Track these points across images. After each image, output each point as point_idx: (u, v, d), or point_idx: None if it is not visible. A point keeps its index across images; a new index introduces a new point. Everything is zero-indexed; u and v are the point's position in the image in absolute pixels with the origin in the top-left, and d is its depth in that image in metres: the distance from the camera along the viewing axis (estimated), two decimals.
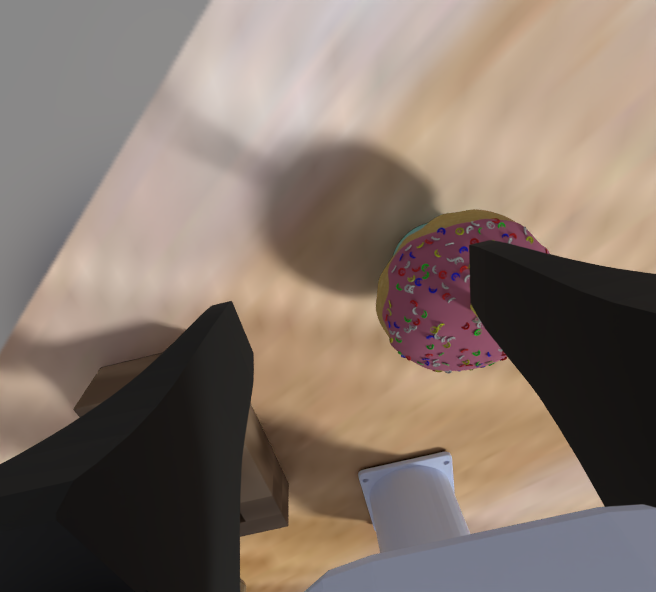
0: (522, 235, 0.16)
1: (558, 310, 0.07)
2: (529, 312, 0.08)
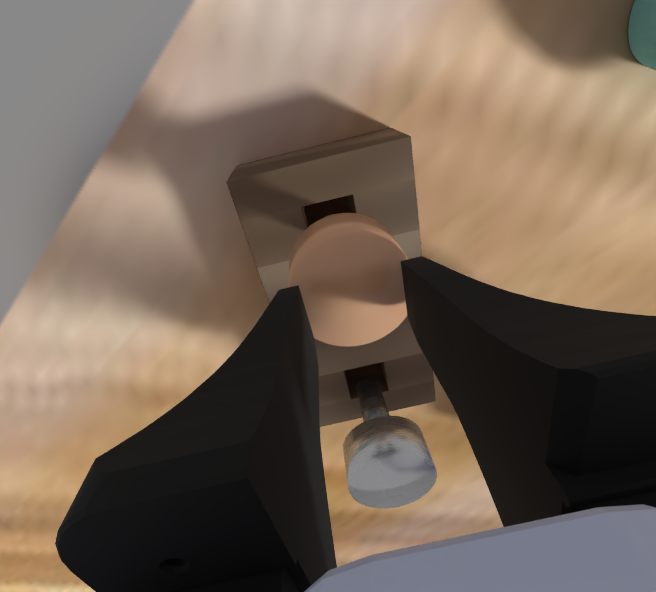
0: None
1: (458, 333, 0.07)
2: (442, 332, 0.08)
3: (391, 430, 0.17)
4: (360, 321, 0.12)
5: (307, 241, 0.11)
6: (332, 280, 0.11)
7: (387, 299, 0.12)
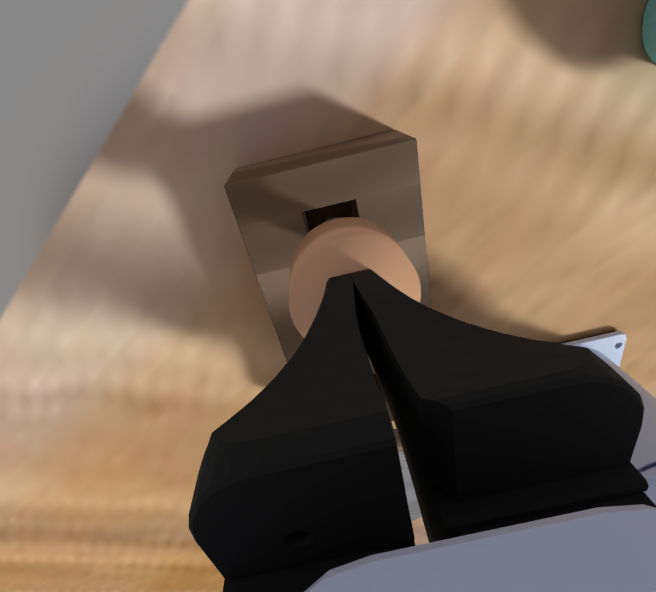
0: None
1: (384, 350, 0.07)
2: (377, 347, 0.08)
3: None
4: None
5: (307, 247, 0.11)
6: None
7: None
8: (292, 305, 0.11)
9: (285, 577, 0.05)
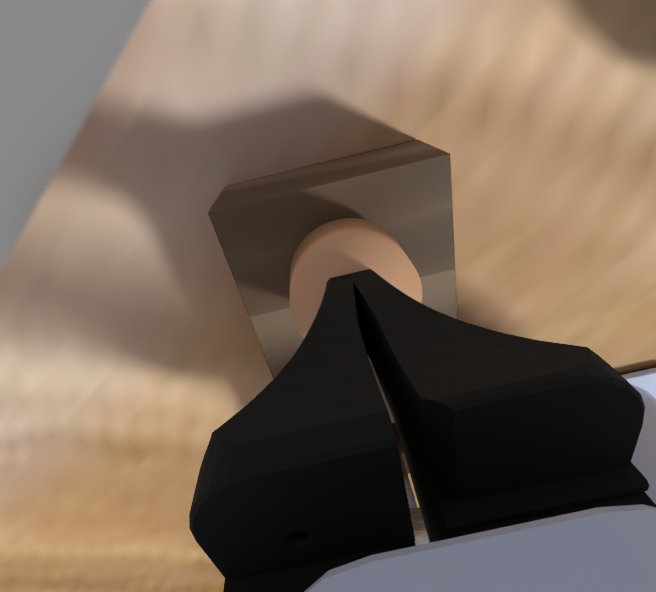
0: None
1: (384, 350, 0.07)
2: (378, 347, 0.08)
3: (421, 531, 0.13)
4: None
5: (308, 248, 0.11)
6: None
7: None
8: (293, 306, 0.11)
9: (286, 577, 0.05)
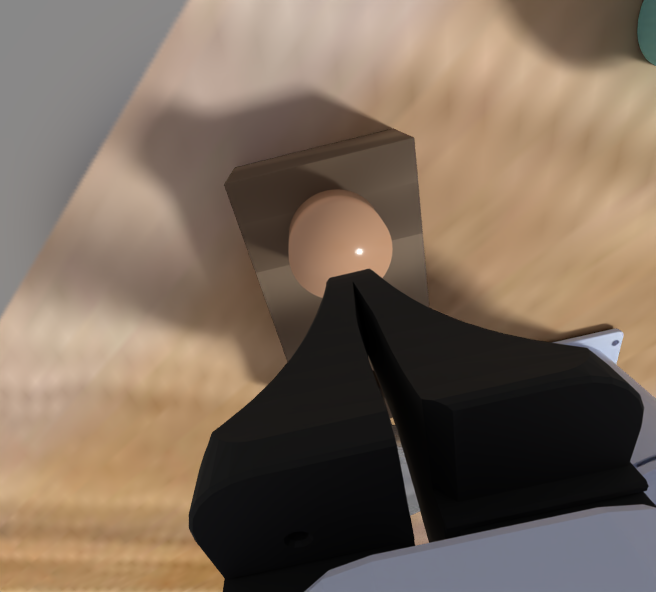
0: None
1: (384, 350, 0.07)
2: (377, 347, 0.08)
3: None
4: None
5: (303, 211, 0.14)
6: (324, 242, 0.14)
7: (369, 259, 0.14)
8: (291, 257, 0.14)
9: (285, 577, 0.05)
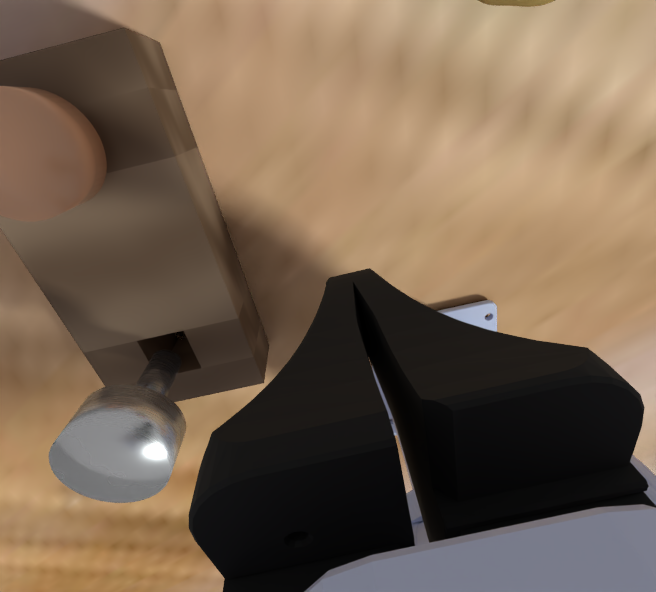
0: None
1: (384, 350, 0.07)
2: (377, 347, 0.08)
3: (112, 400, 0.13)
4: (29, 191, 0.12)
5: None
6: None
7: (47, 165, 0.12)
8: None
9: (285, 577, 0.05)
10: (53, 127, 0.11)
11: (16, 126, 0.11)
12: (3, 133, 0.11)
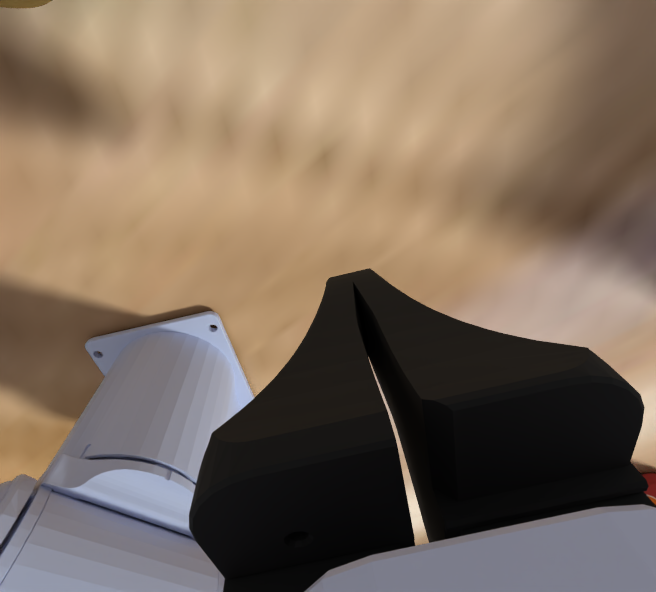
0: None
1: (384, 350, 0.07)
2: (377, 347, 0.08)
3: None
4: None
5: None
6: None
7: None
8: None
9: (285, 577, 0.05)
10: None
11: None
12: None
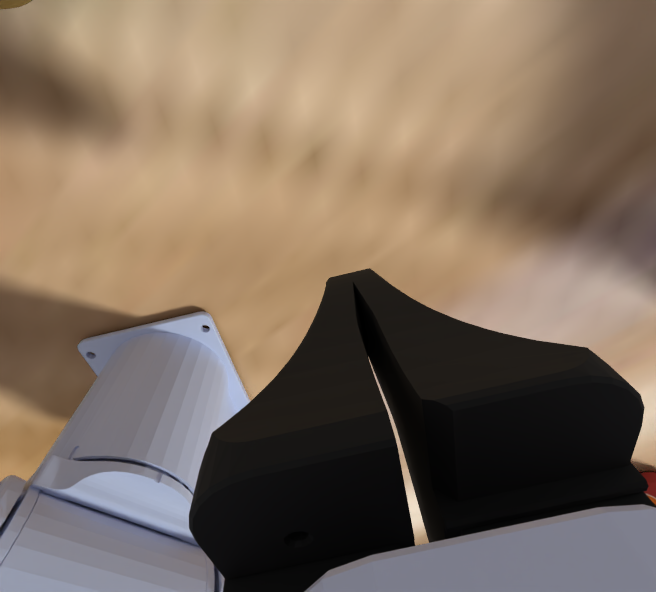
0: None
1: (384, 350, 0.07)
2: (377, 347, 0.08)
3: None
4: None
5: None
6: None
7: None
8: None
9: (285, 577, 0.05)
10: None
11: None
12: None
